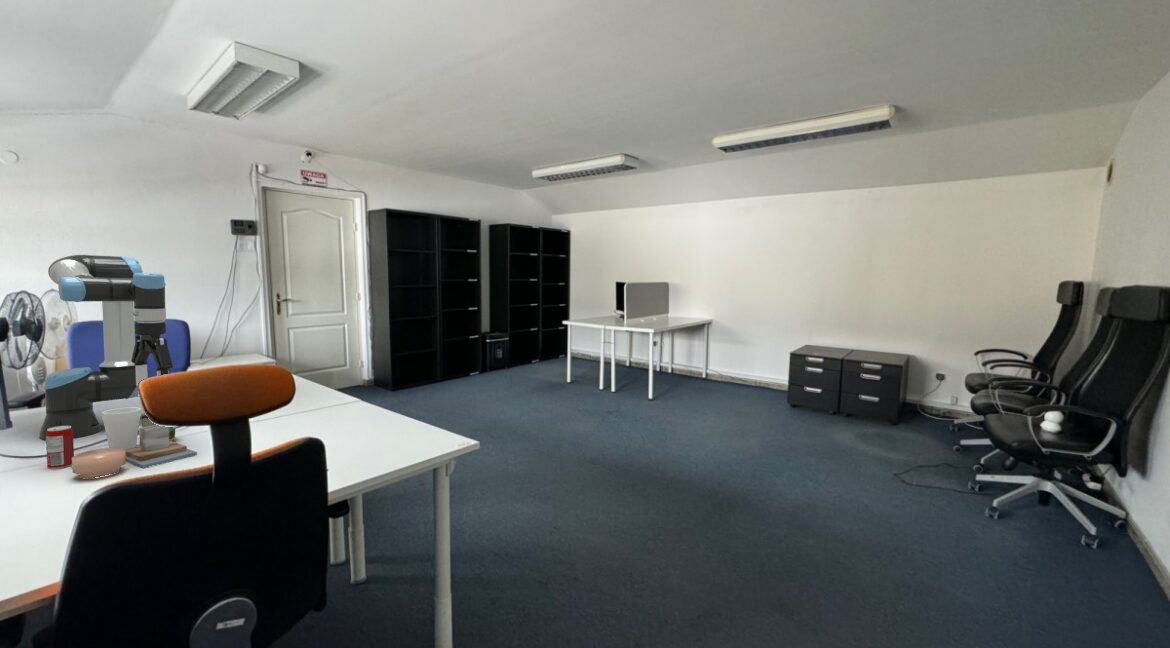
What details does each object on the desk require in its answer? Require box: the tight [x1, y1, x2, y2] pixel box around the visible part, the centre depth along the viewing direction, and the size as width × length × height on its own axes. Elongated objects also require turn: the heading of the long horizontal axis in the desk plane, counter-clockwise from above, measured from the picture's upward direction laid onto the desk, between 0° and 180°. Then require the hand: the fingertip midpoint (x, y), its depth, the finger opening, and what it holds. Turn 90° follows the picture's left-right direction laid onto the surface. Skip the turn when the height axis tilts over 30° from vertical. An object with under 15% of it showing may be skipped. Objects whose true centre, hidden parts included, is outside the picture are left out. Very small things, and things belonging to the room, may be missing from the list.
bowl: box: [71, 447, 127, 480], centre depth 141 cm, size 11×11×6 cm
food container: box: [140, 412, 177, 442], centre depth 172 cm, size 12×6×10 cm, turn 84°
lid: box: [125, 425, 188, 462], centre depth 157 cm, size 12×12×8 cm
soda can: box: [45, 426, 75, 470], centre depth 146 cm, size 6×6×12 cm
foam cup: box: [101, 406, 142, 449], centre depth 162 cm, size 10×9×13 cm
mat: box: [126, 448, 198, 469], centre depth 157 cm, size 20×14×1 cm
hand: (152, 387), depth 156 cm, fingers open, 13 cm apart
